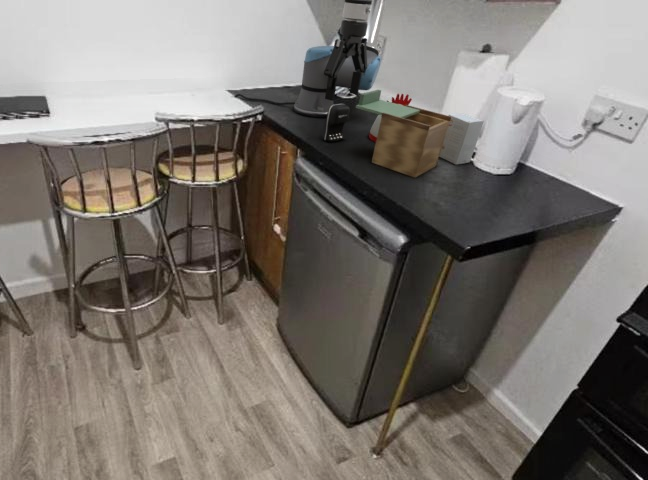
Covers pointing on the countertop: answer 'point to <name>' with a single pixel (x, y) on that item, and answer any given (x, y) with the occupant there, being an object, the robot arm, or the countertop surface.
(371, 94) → the lid
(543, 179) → the countertop surface
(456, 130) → the small box
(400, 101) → the white toy chicken
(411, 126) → the case
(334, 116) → the battery charger
